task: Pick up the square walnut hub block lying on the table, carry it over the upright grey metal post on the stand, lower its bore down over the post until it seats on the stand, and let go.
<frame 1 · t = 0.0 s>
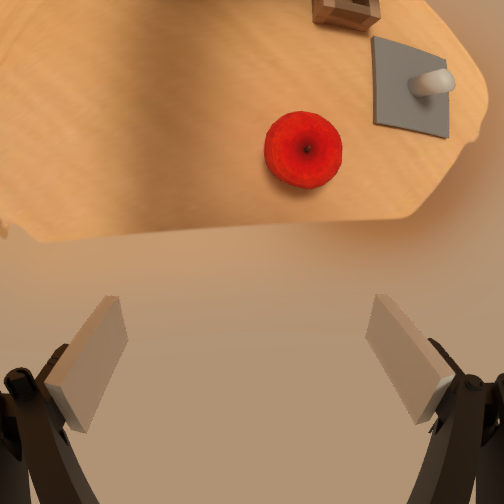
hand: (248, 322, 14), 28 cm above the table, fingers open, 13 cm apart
apple: (291, 149, 38), on the table
hub: (337, 5, 30), on the table
stand: (411, 88, 35), on the table
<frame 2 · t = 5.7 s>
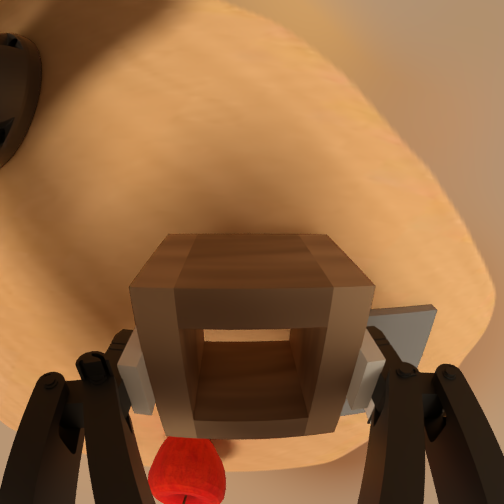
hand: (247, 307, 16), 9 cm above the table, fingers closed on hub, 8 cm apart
apple: (193, 435, 32), on the table
hub: (247, 305, 16), point 9 cm above the table, touching gripper
stand: (361, 365, 28), on the table
when the fingers open (2 cm above the table, at t = 11.0 s): hub stays where it is, resting on stand.
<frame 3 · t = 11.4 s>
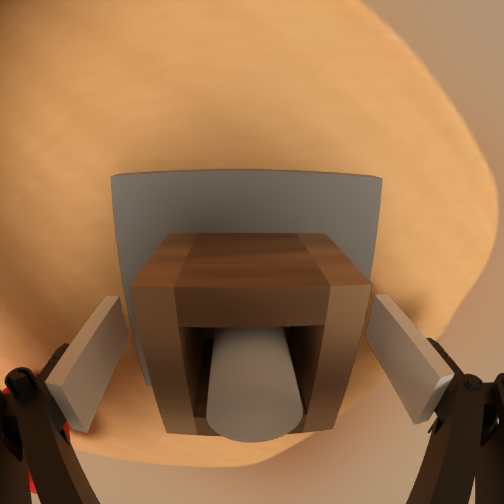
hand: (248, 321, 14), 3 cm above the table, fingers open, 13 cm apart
hub: (246, 303, 16), point 1 cm above the table, touching stand
stand: (246, 292, 17), on the table
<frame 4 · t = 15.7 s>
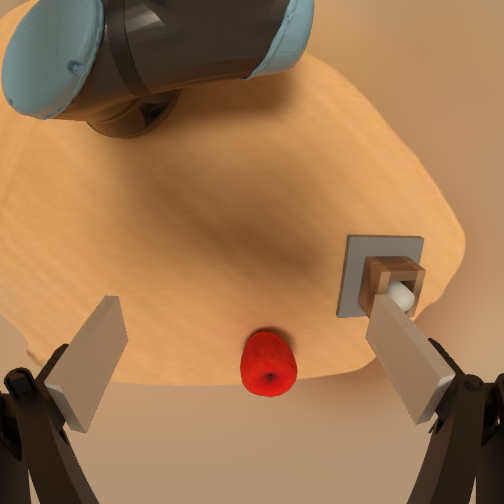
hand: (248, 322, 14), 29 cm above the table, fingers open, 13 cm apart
apple: (264, 340, 49), on the table
hub: (382, 279, 45), point 1 cm above the table, touching stand
stand: (380, 275, 46), on the table
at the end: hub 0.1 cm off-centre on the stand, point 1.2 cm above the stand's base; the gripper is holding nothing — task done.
